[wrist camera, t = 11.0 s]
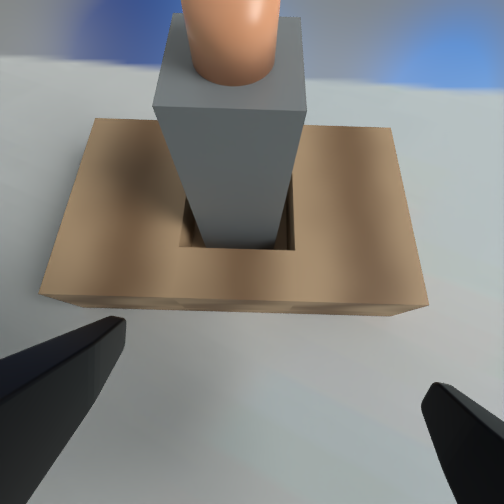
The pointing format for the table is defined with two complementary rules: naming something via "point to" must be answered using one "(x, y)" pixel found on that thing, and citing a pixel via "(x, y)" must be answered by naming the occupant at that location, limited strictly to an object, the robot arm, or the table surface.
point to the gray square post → (233, 115)
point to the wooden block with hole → (238, 260)
